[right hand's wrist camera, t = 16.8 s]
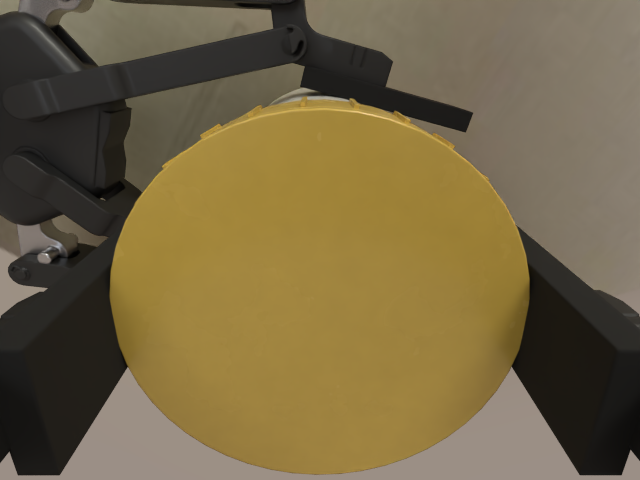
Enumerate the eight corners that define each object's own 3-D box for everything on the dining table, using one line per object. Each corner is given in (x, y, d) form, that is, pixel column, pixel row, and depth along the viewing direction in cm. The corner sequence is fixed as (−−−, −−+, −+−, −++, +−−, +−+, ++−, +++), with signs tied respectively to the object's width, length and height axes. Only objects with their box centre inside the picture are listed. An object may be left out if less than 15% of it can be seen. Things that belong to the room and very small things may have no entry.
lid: (368, 3, 10) (381, -11, 8) (558, 314, 12) (602, 361, 10) (65, 246, 12) (14, 283, 10) (288, 462, 15) (283, 525, 13)
